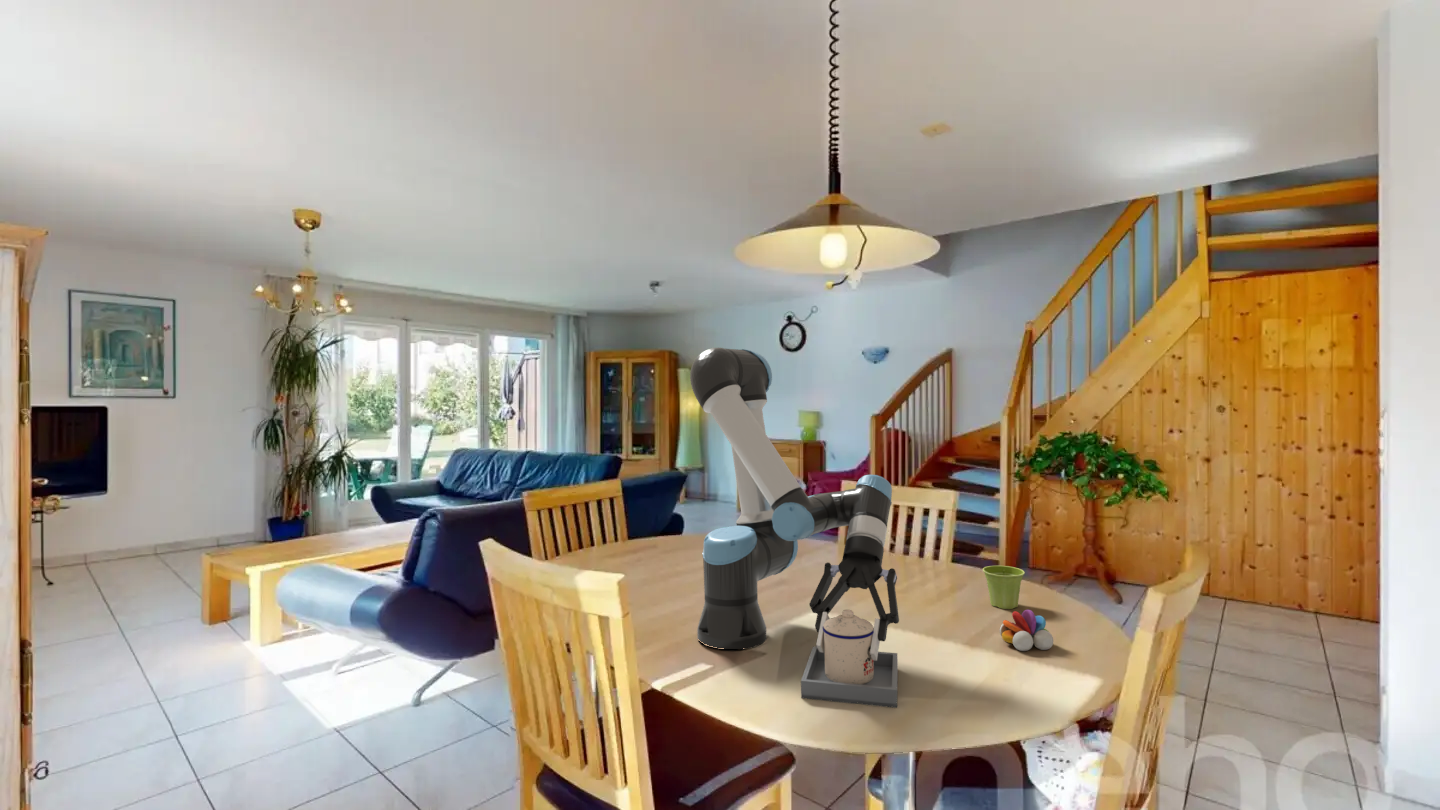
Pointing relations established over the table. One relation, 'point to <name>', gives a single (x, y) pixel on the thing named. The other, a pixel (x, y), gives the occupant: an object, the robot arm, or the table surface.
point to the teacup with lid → (848, 649)
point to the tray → (870, 693)
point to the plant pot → (1003, 585)
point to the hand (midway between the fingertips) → (846, 652)
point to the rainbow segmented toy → (1026, 631)
